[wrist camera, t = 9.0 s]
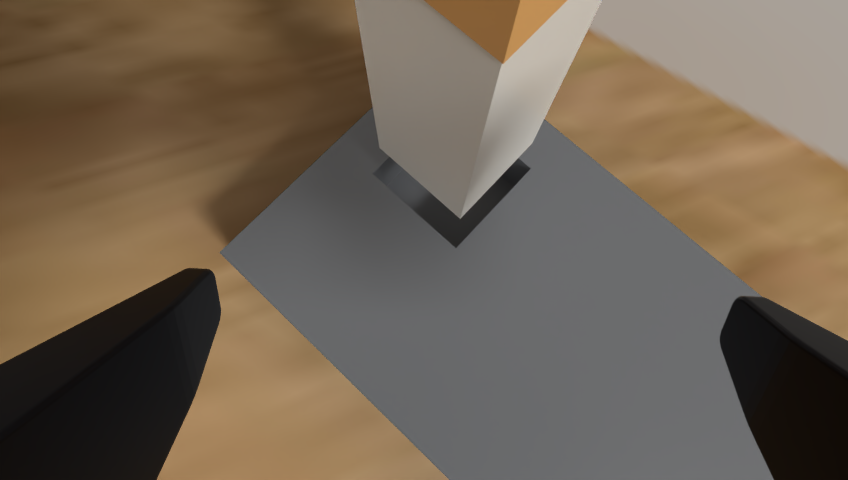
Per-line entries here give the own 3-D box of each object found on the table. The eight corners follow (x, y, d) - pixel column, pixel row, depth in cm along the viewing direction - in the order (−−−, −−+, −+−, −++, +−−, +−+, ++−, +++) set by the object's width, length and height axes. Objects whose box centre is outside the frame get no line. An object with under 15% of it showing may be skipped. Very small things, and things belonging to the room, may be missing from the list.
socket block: (815, 389, 21) (878, 391, 18) (630, 647, 19) (668, 696, 16) (441, 78, 25) (445, 38, 22) (245, 268, 22) (219, 252, 19)
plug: (534, 143, 18) (702, -194, 7) (460, 220, 17) (527, -26, 7) (452, 75, 19) (497, -328, 8) (377, 147, 18) (317, -187, 7)
